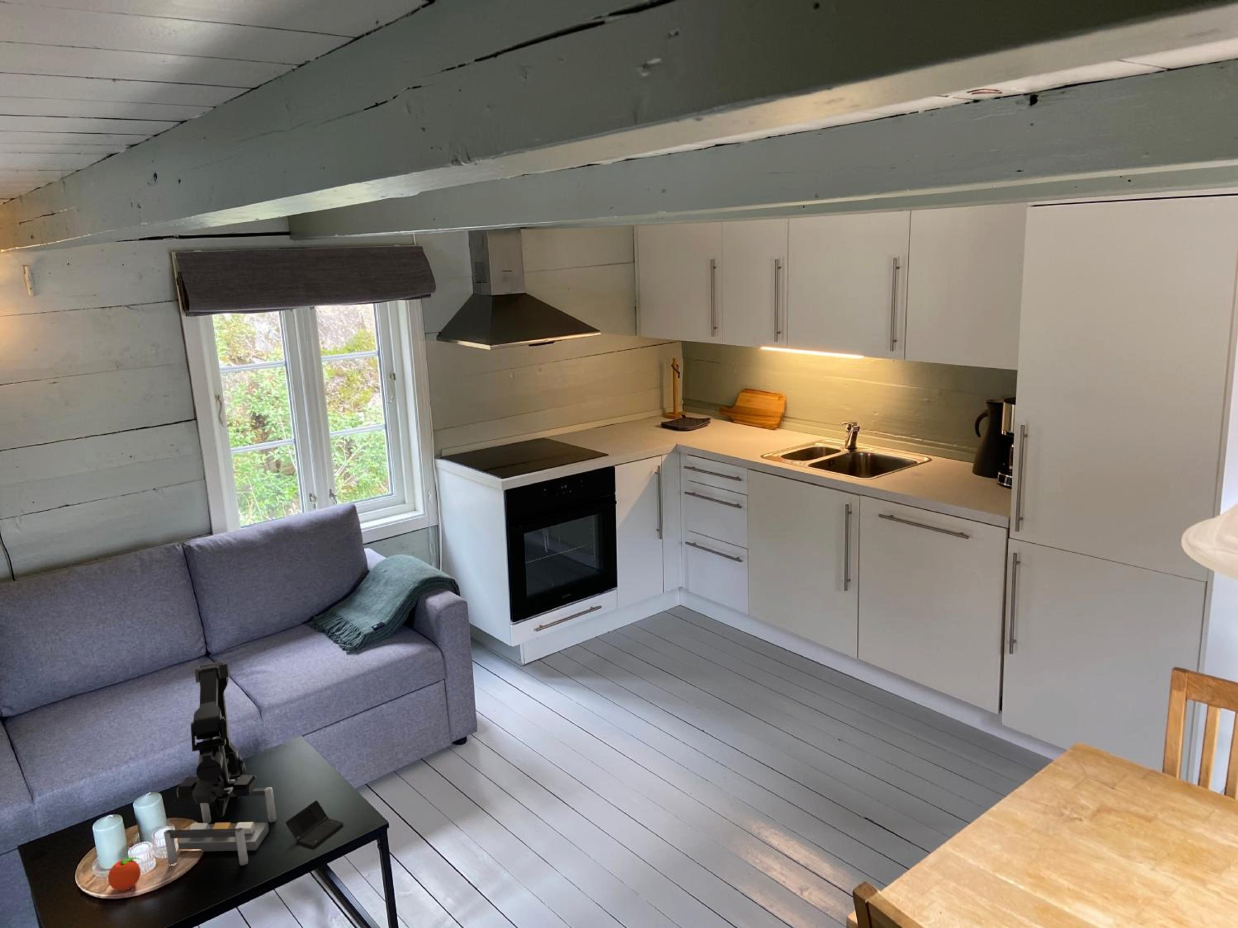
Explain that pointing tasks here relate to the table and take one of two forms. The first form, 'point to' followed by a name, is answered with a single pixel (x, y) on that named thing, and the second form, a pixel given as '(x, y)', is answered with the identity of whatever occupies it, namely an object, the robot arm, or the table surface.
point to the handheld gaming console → (312, 825)
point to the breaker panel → (226, 840)
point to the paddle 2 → (246, 827)
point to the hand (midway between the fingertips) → (221, 815)
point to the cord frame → (208, 833)
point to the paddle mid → (222, 826)
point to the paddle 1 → (200, 826)
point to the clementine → (124, 874)
